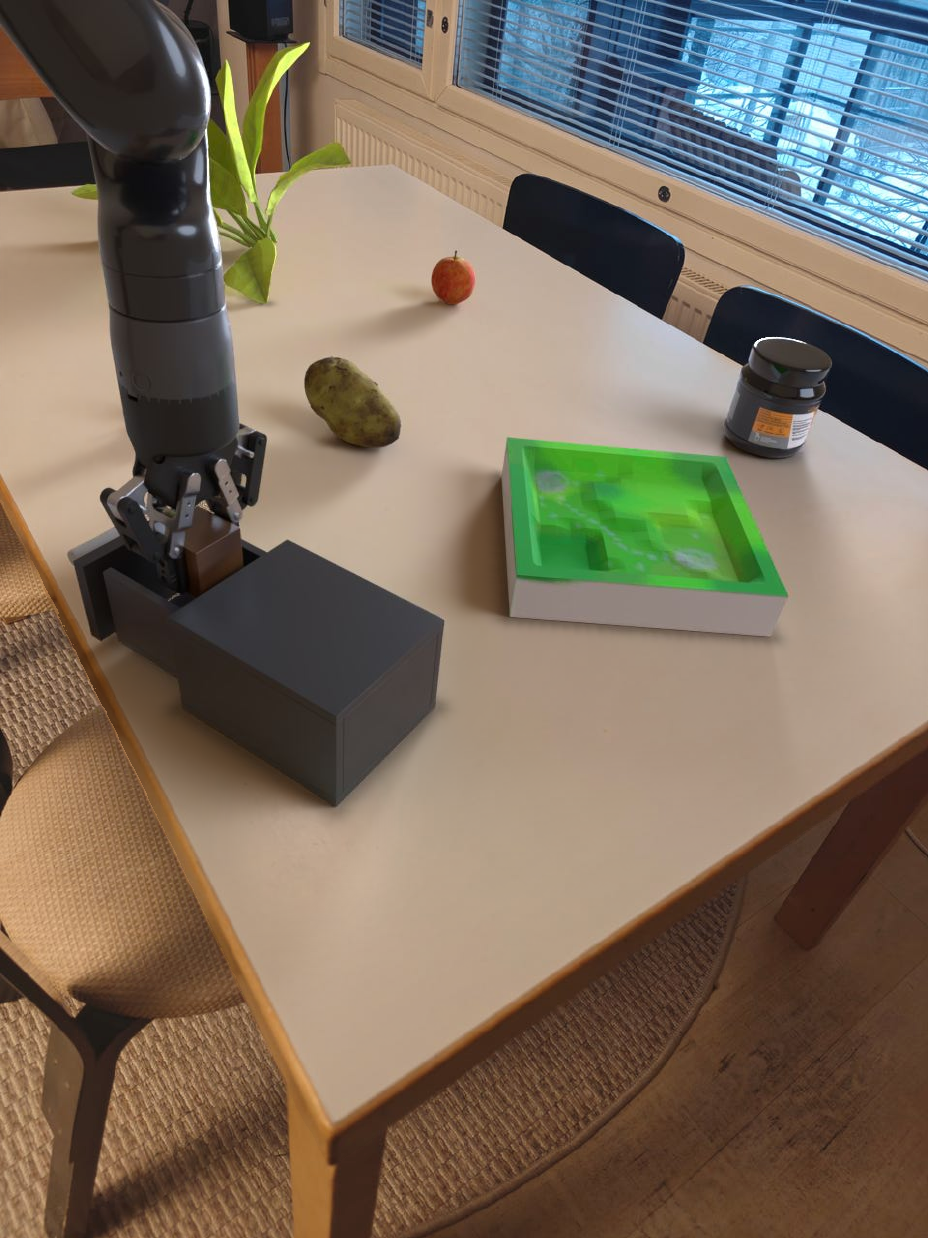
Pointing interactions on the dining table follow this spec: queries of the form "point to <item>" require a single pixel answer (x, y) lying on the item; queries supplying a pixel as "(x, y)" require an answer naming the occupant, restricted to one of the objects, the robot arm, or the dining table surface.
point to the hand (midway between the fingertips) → (202, 572)
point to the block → (211, 550)
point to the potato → (351, 403)
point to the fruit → (453, 279)
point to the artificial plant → (250, 176)
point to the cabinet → (307, 666)
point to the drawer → (131, 596)
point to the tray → (634, 540)
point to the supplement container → (777, 397)
